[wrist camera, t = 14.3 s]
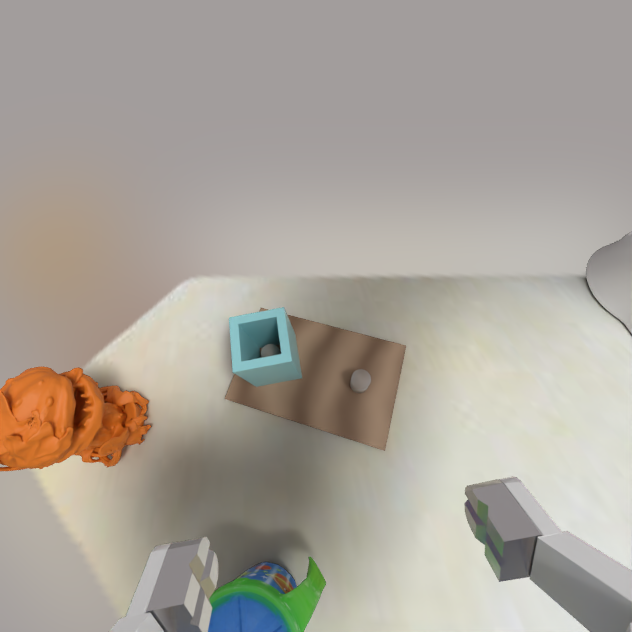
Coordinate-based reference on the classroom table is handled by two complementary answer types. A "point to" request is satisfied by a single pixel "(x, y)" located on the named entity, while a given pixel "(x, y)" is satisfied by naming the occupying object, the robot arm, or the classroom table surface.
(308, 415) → the pin plate
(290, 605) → the snack cup
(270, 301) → the classroom table surface
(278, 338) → the sleeve block
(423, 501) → the classroom table surface
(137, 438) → the orange animal figurine
